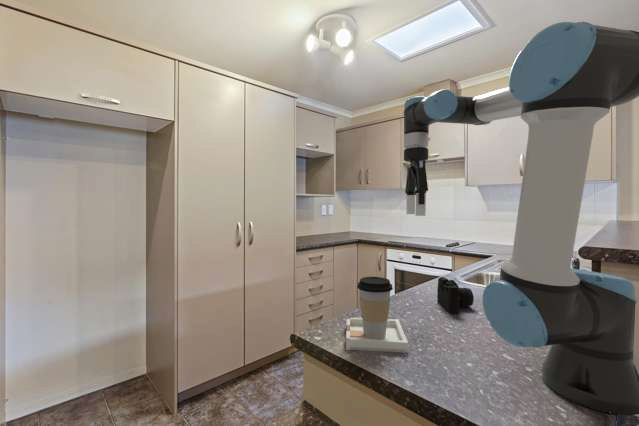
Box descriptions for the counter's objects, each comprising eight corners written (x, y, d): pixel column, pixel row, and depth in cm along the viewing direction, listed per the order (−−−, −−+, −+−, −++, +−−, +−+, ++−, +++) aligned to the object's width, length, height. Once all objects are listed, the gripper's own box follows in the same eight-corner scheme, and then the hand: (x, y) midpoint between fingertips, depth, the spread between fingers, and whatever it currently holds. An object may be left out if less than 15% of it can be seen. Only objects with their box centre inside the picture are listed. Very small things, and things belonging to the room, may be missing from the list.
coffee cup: (379, 326, 89) (380, 274, 88) (399, 339, 80) (400, 282, 79) (350, 331, 85) (351, 277, 85) (368, 345, 76) (368, 286, 76)
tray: (407, 352, 74) (408, 342, 74) (346, 349, 76) (346, 339, 76) (398, 328, 89) (398, 319, 89) (346, 325, 91) (346, 317, 91)
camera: (480, 315, 100) (481, 285, 100) (446, 314, 101) (447, 284, 100) (464, 302, 114) (464, 275, 113) (434, 301, 115) (434, 274, 114)
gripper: (440, 140, 85) (439, 216, 86) (418, 154, 110) (417, 213, 110) (412, 140, 85) (411, 216, 86) (397, 154, 110) (396, 213, 111)
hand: (415, 215), depth 98 cm, fingers open, 13 cm apart
